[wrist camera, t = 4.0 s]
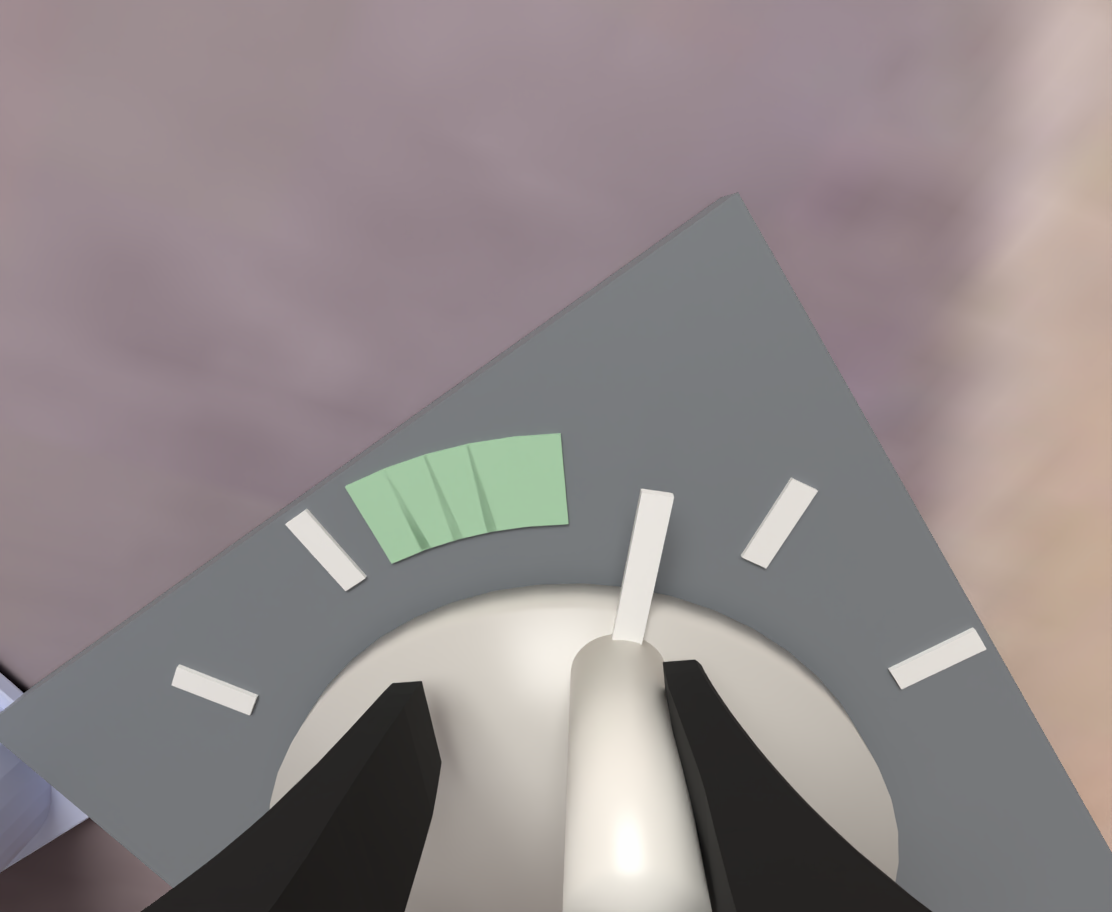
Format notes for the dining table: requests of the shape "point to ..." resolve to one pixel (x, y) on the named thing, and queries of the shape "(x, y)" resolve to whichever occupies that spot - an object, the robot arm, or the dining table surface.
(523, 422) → the tuner board
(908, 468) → the dining table surface
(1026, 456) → the dining table surface
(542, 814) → the beige oval dome
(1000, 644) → the dining table surface
